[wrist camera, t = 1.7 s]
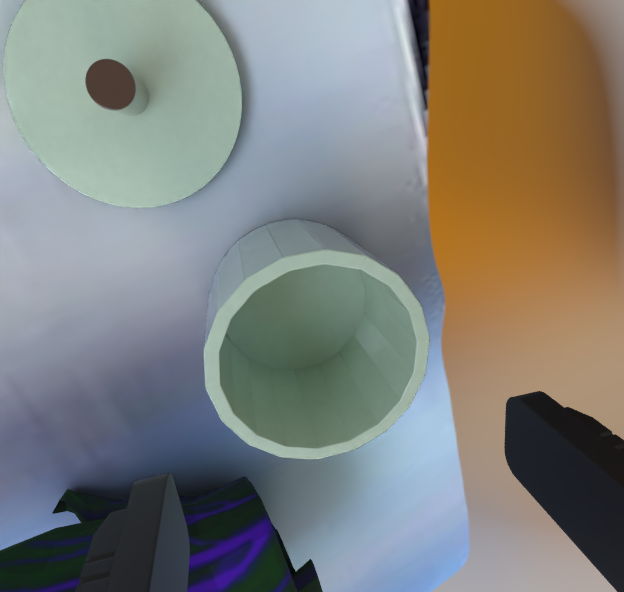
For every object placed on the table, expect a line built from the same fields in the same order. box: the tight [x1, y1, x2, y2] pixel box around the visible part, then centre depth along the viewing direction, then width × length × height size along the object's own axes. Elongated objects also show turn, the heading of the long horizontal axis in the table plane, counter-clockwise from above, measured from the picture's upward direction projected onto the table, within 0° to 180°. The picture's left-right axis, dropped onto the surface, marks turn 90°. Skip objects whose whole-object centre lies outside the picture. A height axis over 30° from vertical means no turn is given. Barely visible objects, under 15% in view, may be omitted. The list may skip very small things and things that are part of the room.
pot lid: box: [3, 0, 242, 208], centre depth 25 cm, size 14×14×6 cm
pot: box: [203, 220, 430, 459], centre depth 30 cm, size 13×13×10 cm
